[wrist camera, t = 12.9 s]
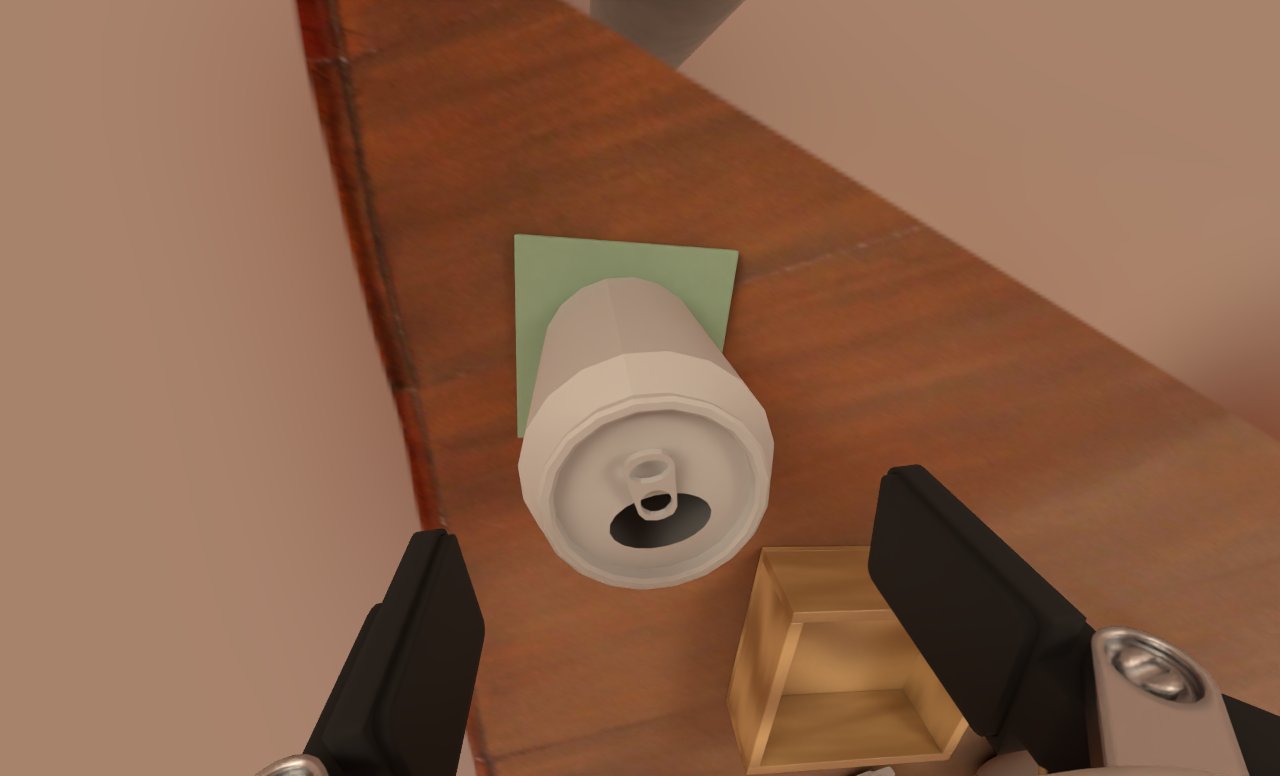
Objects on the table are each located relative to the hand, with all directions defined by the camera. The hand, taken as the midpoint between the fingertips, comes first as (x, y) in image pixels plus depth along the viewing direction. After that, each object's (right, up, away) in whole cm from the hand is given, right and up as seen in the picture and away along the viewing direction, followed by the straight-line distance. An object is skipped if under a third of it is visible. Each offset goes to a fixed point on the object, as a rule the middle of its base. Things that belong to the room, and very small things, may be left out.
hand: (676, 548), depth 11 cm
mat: (-2, +6, +13) cm, 15 cm away
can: (-2, +5, +13) cm, 14 cm away
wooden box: (+13, -13, +24) cm, 30 cm away
